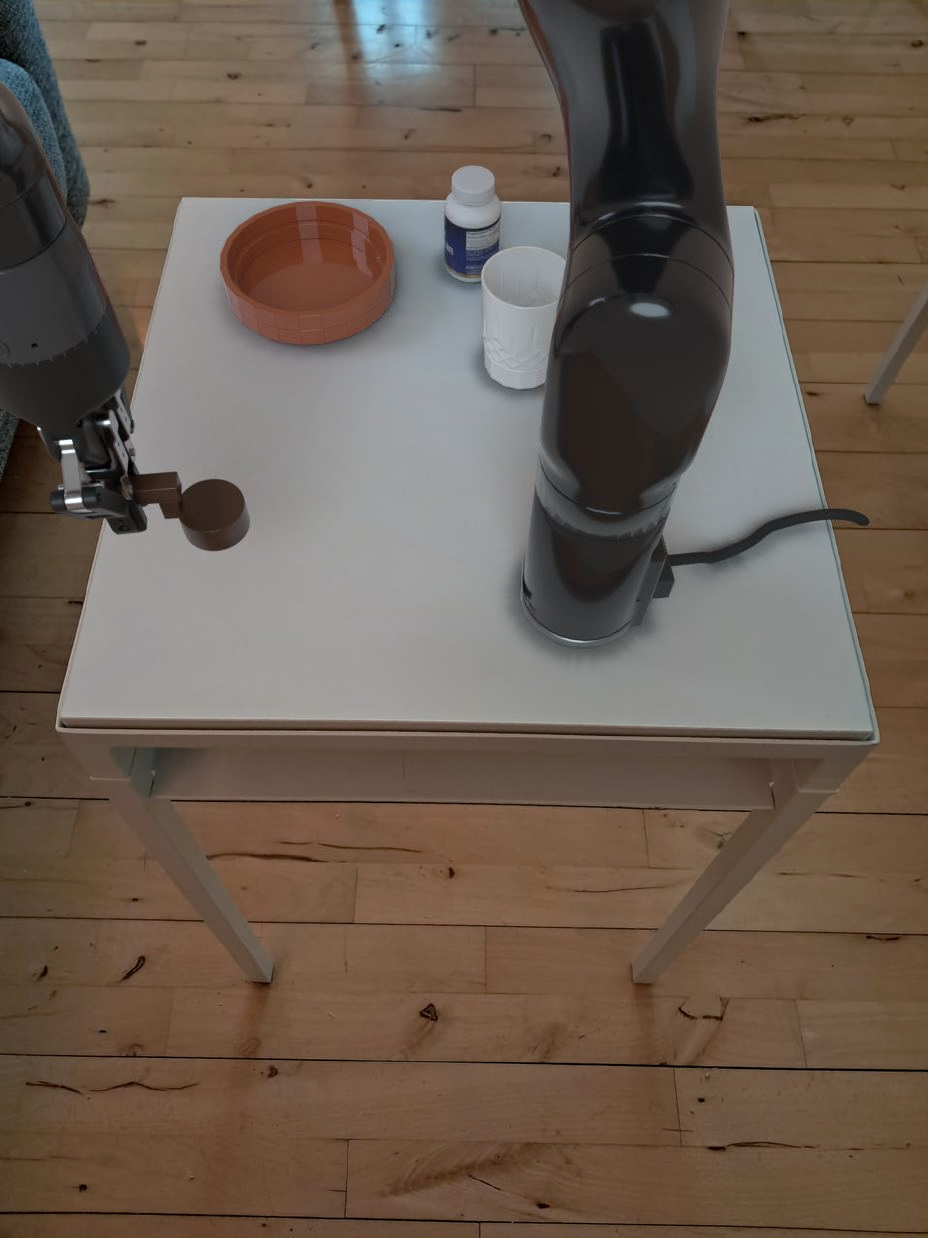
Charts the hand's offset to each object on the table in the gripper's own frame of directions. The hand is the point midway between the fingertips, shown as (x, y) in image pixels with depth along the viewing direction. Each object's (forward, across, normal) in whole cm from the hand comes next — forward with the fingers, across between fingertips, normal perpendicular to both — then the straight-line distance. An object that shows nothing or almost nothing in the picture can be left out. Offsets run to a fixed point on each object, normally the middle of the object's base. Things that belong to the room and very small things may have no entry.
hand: (132, 515), depth 61 cm
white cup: (+14, +25, -30) cm, 42 cm away
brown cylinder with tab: (+2, 0, -3) cm, 3 cm away
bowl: (+14, +37, -12) cm, 41 cm away
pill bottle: (+14, +39, -28) cm, 50 cm away
